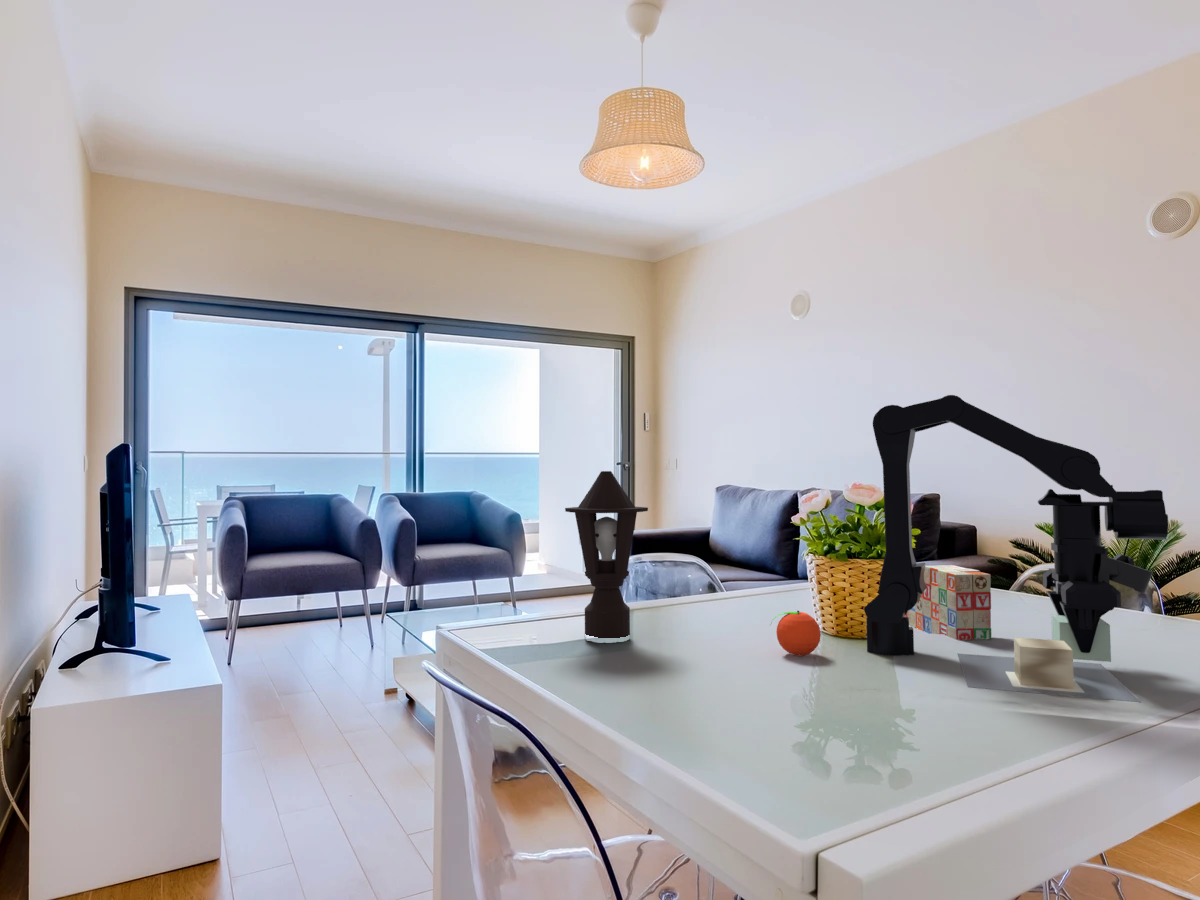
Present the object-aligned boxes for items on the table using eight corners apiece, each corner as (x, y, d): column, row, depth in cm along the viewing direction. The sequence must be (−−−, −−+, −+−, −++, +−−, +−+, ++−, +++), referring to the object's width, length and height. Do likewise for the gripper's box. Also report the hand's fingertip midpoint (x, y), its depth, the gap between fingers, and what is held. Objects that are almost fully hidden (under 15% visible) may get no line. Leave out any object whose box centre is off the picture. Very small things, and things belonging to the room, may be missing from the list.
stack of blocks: (900, 622, 148) (899, 559, 149) (931, 621, 148) (930, 559, 149) (956, 646, 127) (955, 573, 127) (993, 645, 127) (991, 572, 127)
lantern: (563, 631, 141) (562, 471, 142) (641, 629, 143) (639, 471, 144) (569, 649, 126) (567, 471, 127) (655, 646, 128) (653, 470, 129)
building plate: (967, 694, 98) (967, 686, 98) (957, 659, 117) (957, 652, 117) (1141, 710, 91) (1141, 701, 91) (1101, 670, 110) (1100, 663, 110)
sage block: (1060, 658, 105) (1059, 622, 105) (1052, 649, 110) (1051, 614, 111) (1111, 661, 103) (1109, 624, 103) (1100, 652, 108) (1099, 617, 108)
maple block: (1020, 684, 99) (1019, 646, 99) (1014, 673, 104) (1013, 637, 104) (1073, 689, 96) (1072, 650, 97) (1064, 677, 102) (1063, 640, 102)
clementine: (767, 658, 119) (766, 613, 119) (772, 648, 126) (771, 605, 126) (820, 661, 117) (819, 615, 117) (822, 651, 123) (821, 608, 123)
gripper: (1166, 544, 95) (1170, 668, 95) (1125, 534, 113) (1129, 638, 112) (1065, 542, 100) (1068, 661, 99) (1040, 532, 117) (1043, 633, 116)
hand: (1080, 647), depth 107 cm, fingers closed on sage block, 6 cm apart
